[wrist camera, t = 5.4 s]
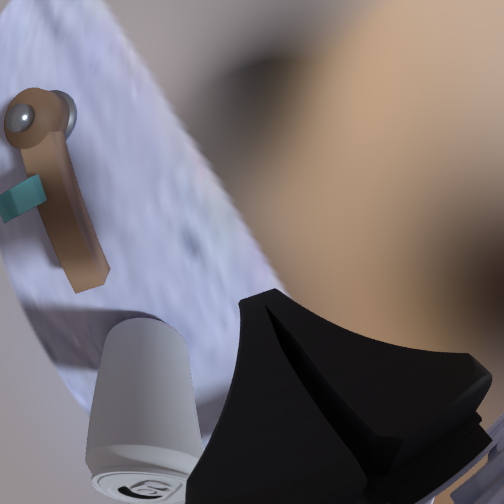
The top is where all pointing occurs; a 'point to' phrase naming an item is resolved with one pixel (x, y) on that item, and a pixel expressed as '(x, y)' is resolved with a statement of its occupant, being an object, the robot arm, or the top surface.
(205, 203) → the top surface
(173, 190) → the top surface
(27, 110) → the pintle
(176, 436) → the beverage can
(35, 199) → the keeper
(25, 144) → the latch bar
